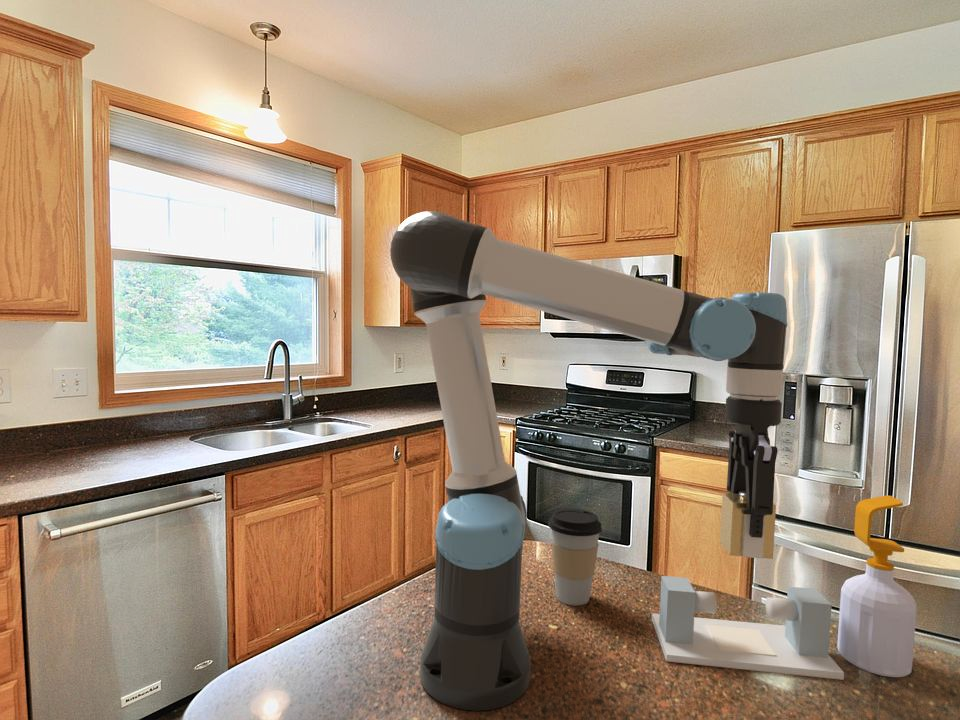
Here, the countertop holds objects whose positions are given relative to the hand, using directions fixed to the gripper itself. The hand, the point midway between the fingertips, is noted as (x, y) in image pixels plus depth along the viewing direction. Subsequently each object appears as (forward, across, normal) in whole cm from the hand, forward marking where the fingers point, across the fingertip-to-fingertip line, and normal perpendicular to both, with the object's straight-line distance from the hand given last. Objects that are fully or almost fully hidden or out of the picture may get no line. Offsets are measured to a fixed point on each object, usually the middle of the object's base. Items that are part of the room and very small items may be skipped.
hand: (745, 548), depth 84 cm
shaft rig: (+15, 0, 0) cm, 15 cm away
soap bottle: (+16, 0, -19) cm, 25 cm away
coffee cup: (+15, +11, +25) cm, 31 cm away
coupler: (0, 0, 0) cm, 0 cm away
